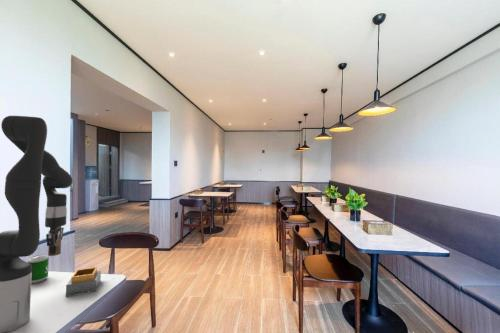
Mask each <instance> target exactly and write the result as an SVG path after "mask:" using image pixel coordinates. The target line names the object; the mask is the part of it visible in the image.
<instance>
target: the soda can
mask: <svg viewBox="0 0 500 333" xmlns="http://www.w3.org/2000/svg"><path fill="white" fill-rule="evenodd" d="M49 260H50V256H48V254H44V253H43V254H36V255H32V256H31V257H30V258H29V259H28V263H30V264H31V265H32V277H31V284H39V283H41V282H42V283H43V282H44V281H45V280H46V279H47V278H48V277H49Z"/></svg>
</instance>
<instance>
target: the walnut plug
mask: <svg viewBox="0 0 500 333" xmlns="http://www.w3.org/2000/svg"><path fill="white" fill-rule="evenodd" d="M55 239H56V238H55ZM51 243H52V241H51ZM47 247H48V250H47V256H49V257H56V256H58V255H61V252H62V251H61V250H62V240H61V236H60V235H59V239H58V240H57V243H56V253H55V254H51V255H50V254H49V246H47Z"/></svg>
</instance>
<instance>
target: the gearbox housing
mask: <svg viewBox="0 0 500 333" xmlns="http://www.w3.org/2000/svg"><path fill="white" fill-rule="evenodd" d="M101 278H102V271H101V270H98V267H90V268H89V267H88V268H81V269H76V270H75V271H74V273H73V274H72V276H71V278H70V279H69V281H68V282H67V283H66V285H65V287H66V288H65V297H73V296H78V295H81V294H82V295H83V294H88V293H89V294H90V293H93V292H97V289H98V287H99V285H100V282H101Z"/></svg>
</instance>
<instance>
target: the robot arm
mask: <svg viewBox="0 0 500 333" xmlns="http://www.w3.org/2000/svg"><path fill="white" fill-rule="evenodd" d="M0 125H1V131H2V133H3V134H4V136H5V137H6V138H7V140H9V142H11V143H12V144H14V146H16V147H17V148H18V149H19V151H21V152H22V153H23V155H22V157H21V158H20V159H19V160H18V161H17V162H16V163H15V164H14V165H13V166H12V168H10V170H9V171H8V172H7V174H6V176H5V185H4V196H5V198H6V200H7V202H8V204H9V205H10V207H11V208H12V209H13V211H14V213H15V214H16V217H17V220H18V230H17V229H16V230H15V229H13V230H12V229H11V230H5V231H1V232H0V333H9V332H13V331H17V330H18V329H19V328H20V327H22V326H24V325H25V324H27V323H28V322H29V320H30V318H31V293H32V283H31V277H32V265H31V264H30V263H28V262H27V261H25V260H23V259H21V258H22V257H25V258H26V257H29V256H33V254H34V253H35V252H36V251H37V249H38V247H39V244H40V239H41V238H40V237H41V236H40V234H41V233H40V230H41V229H40V198H41V197H40V196H41V190H42V188H41V187H42V185H43V189H44V192H45V195H46V207H45V208H46V209H45V218H44V220H45V222H44V226H45V228H49V230H48V233H46V235H45V237H46V246H47V247H49V254H50V255H51V254H55V253H56V243H57V240H58V239H59V236H61V241H62V240H63V236H64V229H65V227H64V226H66V225H67V214H68V209H67V198H68V197H67V194H66V193H62V192H58V191H57V189H68V188H70V187H71V186H72V184H73V178H72V176H71V174H70V173H69V172H68V171H67V170H65V169H64V168H63V167H62V166H60V164H59V163H58V161H57V158H55V156H54V155H52V153H50V152H49V151H47V150H46V149H45V146H46V144H47V137H48V125H47V123H46V121H45V120H44V119H43V118H42V117H37V116H27V115H26V116H25V115H8V116H7V115H6V116H5V117H4V118H3V119H2V121H1V124H0ZM42 176H43V178H42ZM55 238H56V239H55ZM51 241H52V243H51ZM20 257H21V258H20Z"/></svg>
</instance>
